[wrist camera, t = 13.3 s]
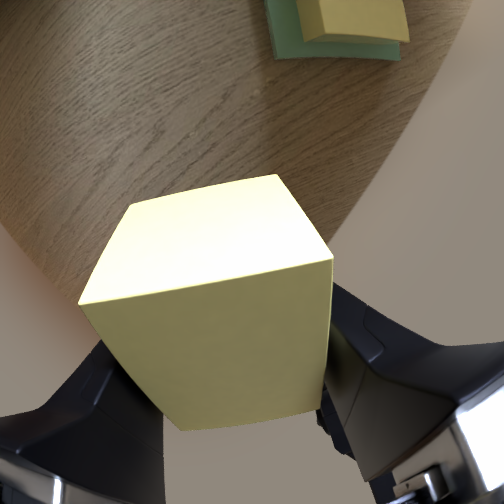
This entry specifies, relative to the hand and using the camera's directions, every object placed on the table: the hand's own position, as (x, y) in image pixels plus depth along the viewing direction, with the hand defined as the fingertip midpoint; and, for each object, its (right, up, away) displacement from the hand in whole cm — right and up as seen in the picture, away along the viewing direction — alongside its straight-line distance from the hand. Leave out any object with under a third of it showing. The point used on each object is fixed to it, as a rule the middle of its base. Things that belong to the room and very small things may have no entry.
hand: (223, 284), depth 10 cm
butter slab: (0, +1, 0) cm, 1 cm away
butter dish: (+5, +21, 0) cm, 22 cm away
